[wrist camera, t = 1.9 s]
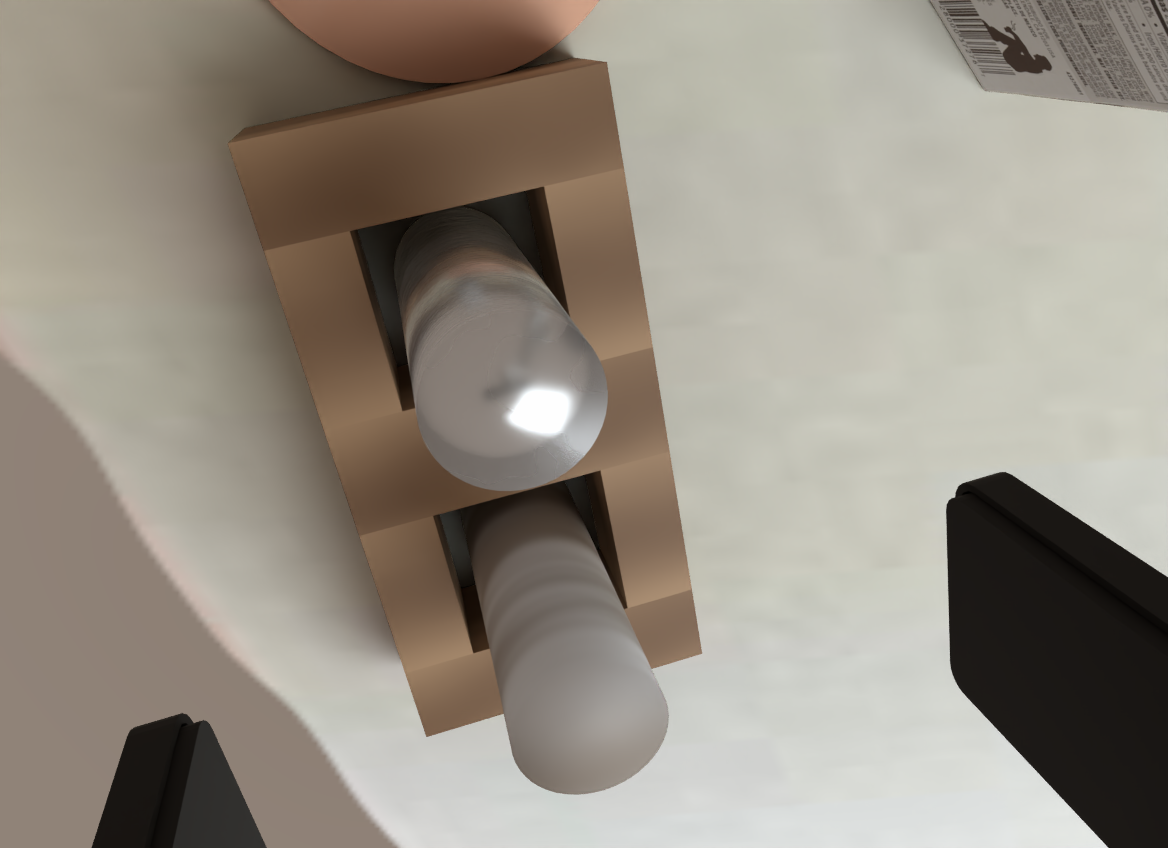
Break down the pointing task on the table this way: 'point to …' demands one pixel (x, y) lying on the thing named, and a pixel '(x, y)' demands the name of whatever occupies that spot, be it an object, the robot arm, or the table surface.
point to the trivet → (437, 33)
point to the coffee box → (1066, 48)
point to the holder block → (425, 489)
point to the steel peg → (493, 356)
